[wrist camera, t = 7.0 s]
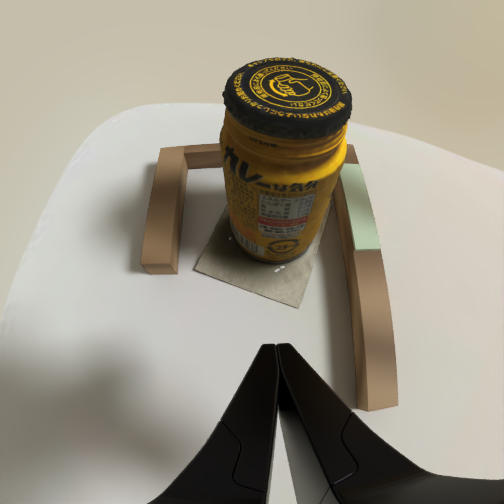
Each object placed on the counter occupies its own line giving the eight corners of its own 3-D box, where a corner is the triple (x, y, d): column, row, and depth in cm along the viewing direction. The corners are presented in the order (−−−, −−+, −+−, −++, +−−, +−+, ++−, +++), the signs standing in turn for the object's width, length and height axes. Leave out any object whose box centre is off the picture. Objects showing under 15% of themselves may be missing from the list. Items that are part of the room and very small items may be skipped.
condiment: (330, 204, 22) (378, 71, 11) (298, 308, 19) (357, 209, 8) (242, 176, 23) (234, 39, 12) (195, 271, 20) (132, 145, 9)
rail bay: (384, 403, 16) (400, 405, 14) (144, 412, 16) (130, 416, 14) (347, 160, 23) (353, 142, 21) (166, 163, 23) (159, 145, 21)
